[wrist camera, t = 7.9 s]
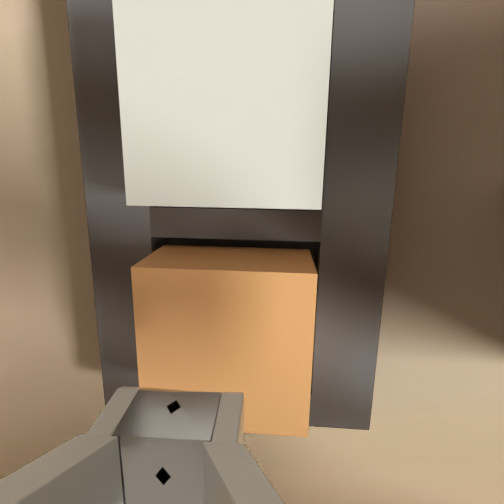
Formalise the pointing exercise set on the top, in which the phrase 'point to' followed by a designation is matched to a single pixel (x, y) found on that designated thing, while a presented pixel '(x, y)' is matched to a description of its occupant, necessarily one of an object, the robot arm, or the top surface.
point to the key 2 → (230, 328)
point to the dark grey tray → (260, 219)
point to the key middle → (223, 101)
